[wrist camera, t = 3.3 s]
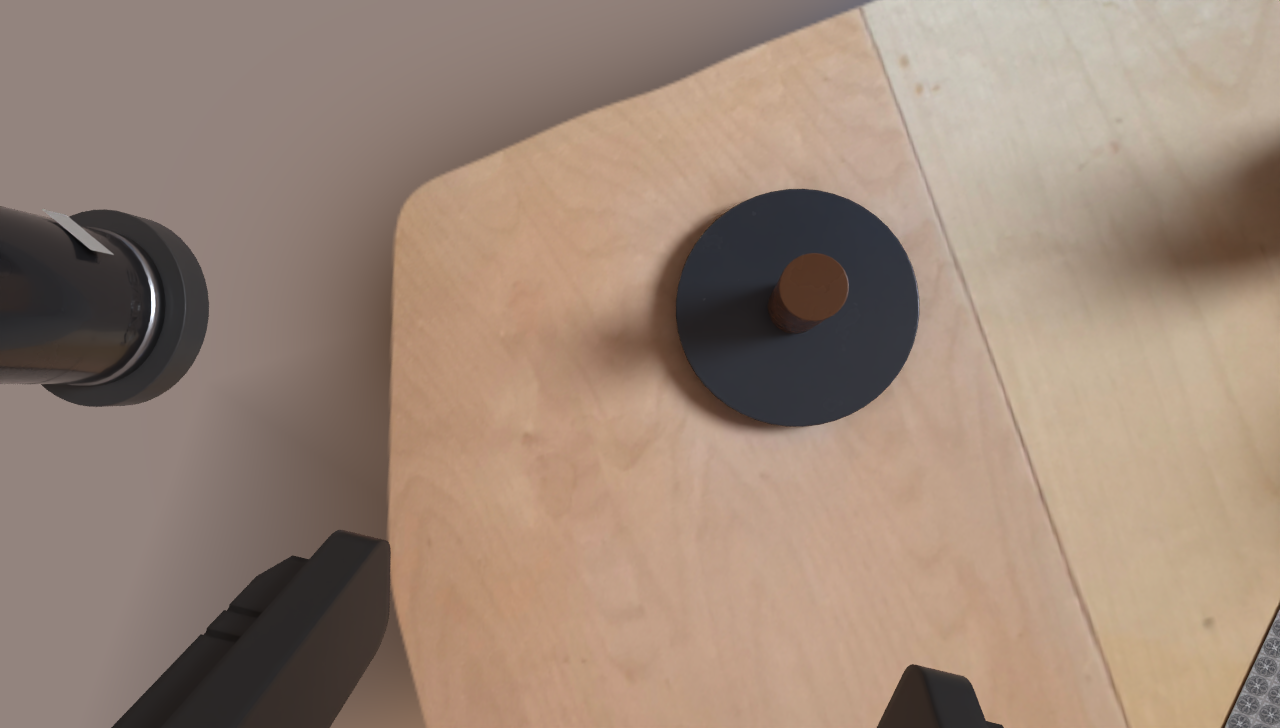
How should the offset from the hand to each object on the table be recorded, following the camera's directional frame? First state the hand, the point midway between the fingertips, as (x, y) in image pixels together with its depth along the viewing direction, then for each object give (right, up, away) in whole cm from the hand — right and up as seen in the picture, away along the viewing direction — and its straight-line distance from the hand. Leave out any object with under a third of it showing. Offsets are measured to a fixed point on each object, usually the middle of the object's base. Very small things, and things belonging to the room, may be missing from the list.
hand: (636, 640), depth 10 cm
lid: (+8, +7, +23) cm, 25 cm away
